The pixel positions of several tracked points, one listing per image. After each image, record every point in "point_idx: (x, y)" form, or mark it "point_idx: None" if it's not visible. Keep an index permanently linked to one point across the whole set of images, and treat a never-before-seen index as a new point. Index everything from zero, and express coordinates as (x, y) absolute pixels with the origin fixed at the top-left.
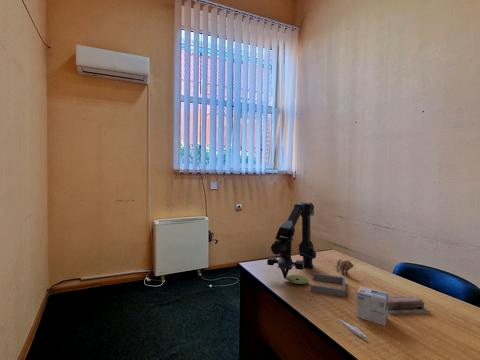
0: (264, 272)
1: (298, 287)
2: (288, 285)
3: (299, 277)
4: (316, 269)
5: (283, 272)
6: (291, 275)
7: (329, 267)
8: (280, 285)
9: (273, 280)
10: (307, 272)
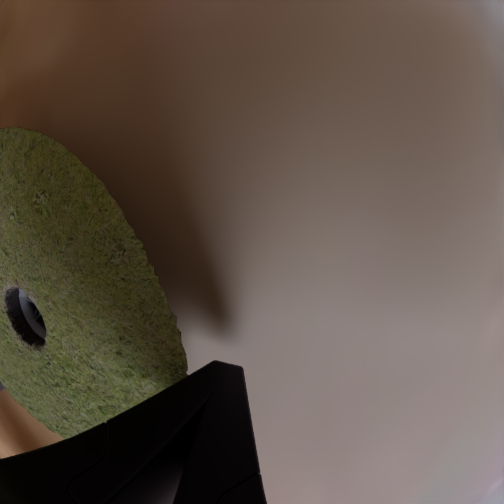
0: (489, 484)
1: None
2: (151, 143)
3: (25, 373)
4: None
5: (213, 484)
6: None
7: None
8: (322, 94)
9: (463, 321)
10: None
